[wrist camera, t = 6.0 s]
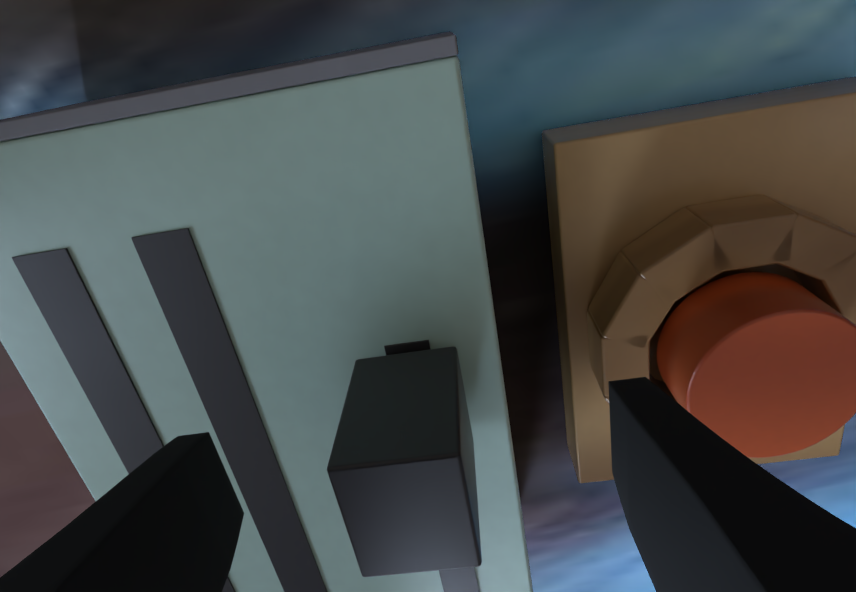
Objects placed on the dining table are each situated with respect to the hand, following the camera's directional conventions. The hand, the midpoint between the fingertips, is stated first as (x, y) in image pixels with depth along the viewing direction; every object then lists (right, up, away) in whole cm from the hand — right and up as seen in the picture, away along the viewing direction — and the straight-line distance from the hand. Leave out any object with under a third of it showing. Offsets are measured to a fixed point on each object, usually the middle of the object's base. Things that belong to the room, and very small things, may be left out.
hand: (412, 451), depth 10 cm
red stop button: (+8, +2, +4) cm, 9 cm away
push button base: (+8, +3, +7) cm, 11 cm away
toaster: (-3, +1, +8) cm, 9 cm away
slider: (0, +1, +1) cm, 1 cm away
